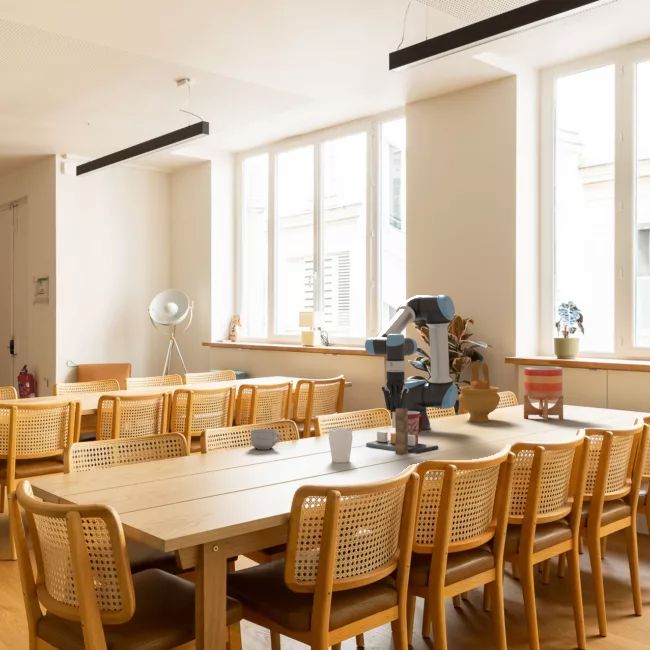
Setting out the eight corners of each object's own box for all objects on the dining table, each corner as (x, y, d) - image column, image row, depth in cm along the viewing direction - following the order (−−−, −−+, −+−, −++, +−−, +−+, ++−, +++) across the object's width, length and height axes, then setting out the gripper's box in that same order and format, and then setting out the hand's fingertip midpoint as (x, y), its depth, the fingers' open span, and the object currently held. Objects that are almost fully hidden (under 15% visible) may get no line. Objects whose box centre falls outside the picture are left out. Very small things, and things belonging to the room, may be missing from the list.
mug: (409, 446, 301) (409, 414, 301) (394, 443, 309) (394, 412, 308) (430, 442, 309) (430, 411, 309) (415, 439, 316) (415, 409, 316)
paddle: (379, 440, 306) (379, 431, 306) (387, 441, 303) (387, 431, 303) (377, 440, 304) (377, 431, 304) (384, 442, 302) (384, 432, 302)
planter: (521, 415, 386) (521, 366, 386) (559, 416, 383) (559, 366, 383) (526, 421, 366) (526, 369, 366) (566, 421, 364) (566, 369, 363)
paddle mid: (393, 442, 301) (393, 432, 301) (401, 443, 299) (401, 433, 299) (390, 442, 300) (390, 433, 300) (398, 443, 297) (398, 434, 297)
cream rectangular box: (407, 444, 297) (407, 434, 297) (415, 445, 294) (415, 435, 294) (404, 444, 295) (404, 435, 295) (412, 445, 293) (412, 436, 293)
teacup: (245, 448, 299) (245, 429, 299) (264, 445, 307) (264, 426, 307) (268, 453, 289) (267, 433, 289) (287, 449, 297) (287, 430, 297)
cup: (325, 460, 275) (325, 428, 275) (346, 457, 279) (346, 427, 279) (334, 464, 267) (334, 432, 267) (356, 462, 270) (356, 430, 270)
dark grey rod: (436, 448, 297) (436, 444, 297) (439, 448, 296) (439, 445, 296) (413, 453, 287) (413, 449, 287) (416, 453, 286) (416, 450, 286)
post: (400, 452, 289) (400, 407, 289) (407, 453, 287) (407, 408, 286) (395, 453, 286) (395, 408, 286) (402, 454, 284) (402, 409, 284)
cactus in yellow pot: (451, 421, 369) (451, 363, 368) (468, 416, 386) (468, 360, 385) (490, 424, 357) (490, 364, 356) (506, 419, 374) (505, 362, 373)
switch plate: (382, 442, 311) (382, 438, 311) (426, 448, 297) (426, 444, 297) (366, 446, 302) (366, 442, 302) (410, 452, 288) (410, 448, 288)
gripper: (377, 370, 300) (377, 426, 300) (403, 372, 292) (403, 430, 292) (387, 369, 306) (388, 424, 306) (413, 371, 297) (413, 427, 298)
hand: (395, 427), depth 299 cm, fingers closed
